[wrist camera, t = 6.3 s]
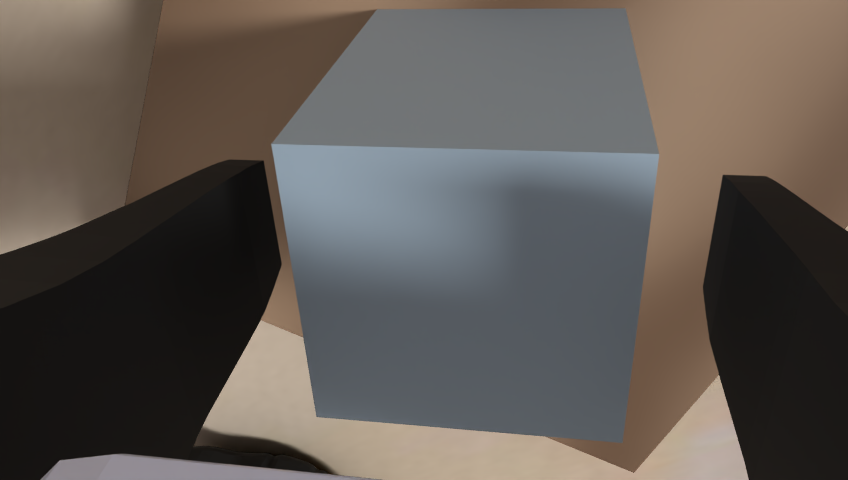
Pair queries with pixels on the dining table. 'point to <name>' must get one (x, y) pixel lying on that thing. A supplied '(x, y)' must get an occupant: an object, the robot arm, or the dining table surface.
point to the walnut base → (668, 105)
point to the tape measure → (251, 459)
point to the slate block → (473, 221)
